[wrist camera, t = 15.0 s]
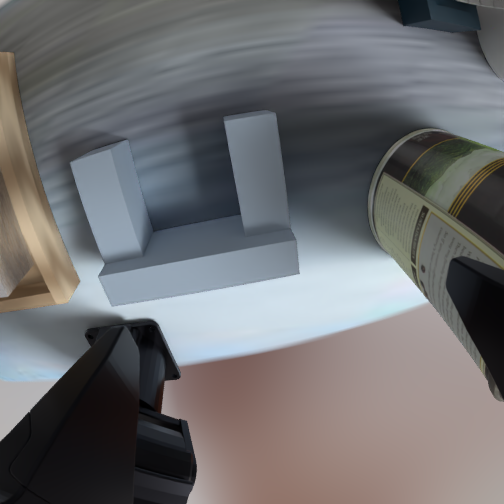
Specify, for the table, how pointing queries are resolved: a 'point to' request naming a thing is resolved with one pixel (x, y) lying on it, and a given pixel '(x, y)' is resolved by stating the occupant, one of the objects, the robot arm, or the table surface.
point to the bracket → (193, 235)
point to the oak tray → (30, 207)
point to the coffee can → (440, 215)
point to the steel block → (11, 246)
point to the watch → (444, 14)
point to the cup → (492, 37)
